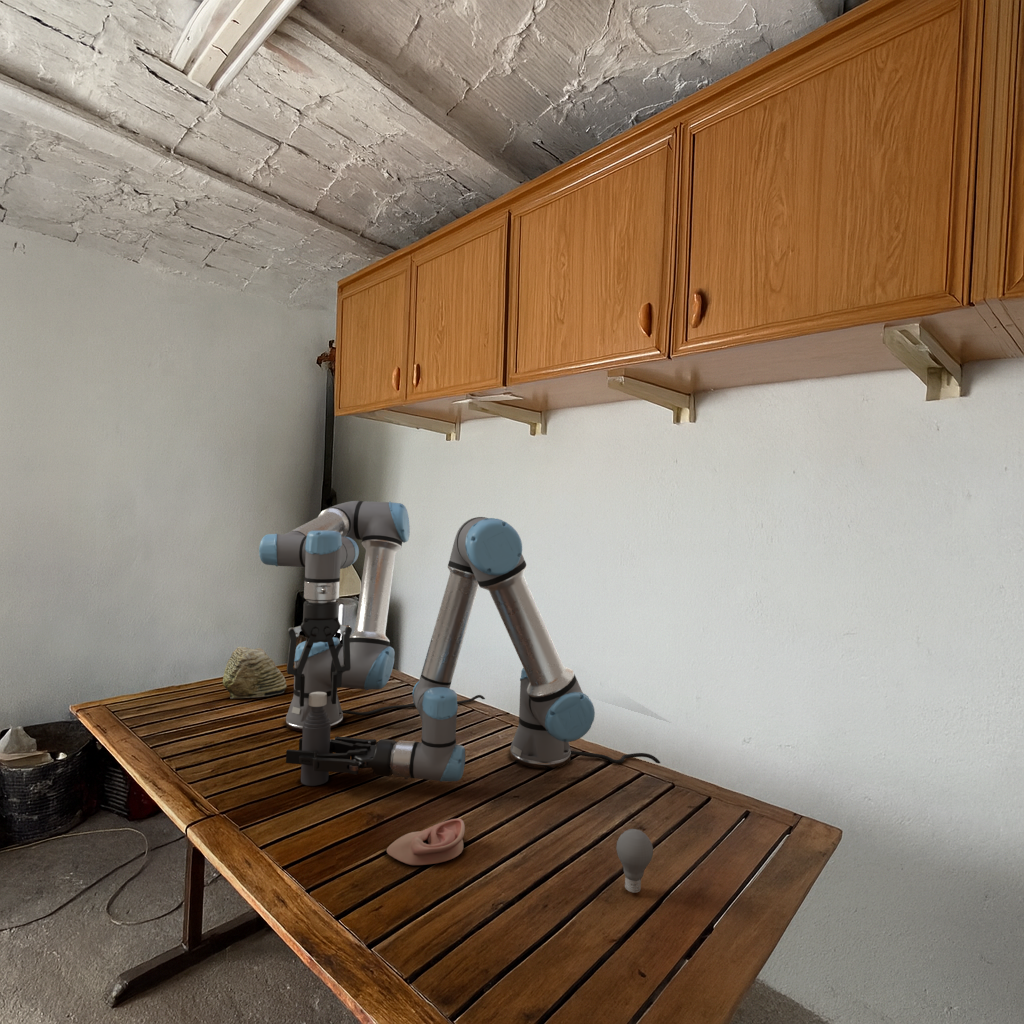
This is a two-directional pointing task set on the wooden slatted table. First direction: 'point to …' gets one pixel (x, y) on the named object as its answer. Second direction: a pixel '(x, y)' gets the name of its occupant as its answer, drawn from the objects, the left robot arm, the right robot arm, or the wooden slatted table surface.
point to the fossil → (252, 674)
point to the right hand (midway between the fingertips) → (293, 750)
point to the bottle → (315, 744)
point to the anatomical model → (430, 844)
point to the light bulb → (634, 857)
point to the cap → (317, 699)
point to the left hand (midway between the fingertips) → (317, 703)
